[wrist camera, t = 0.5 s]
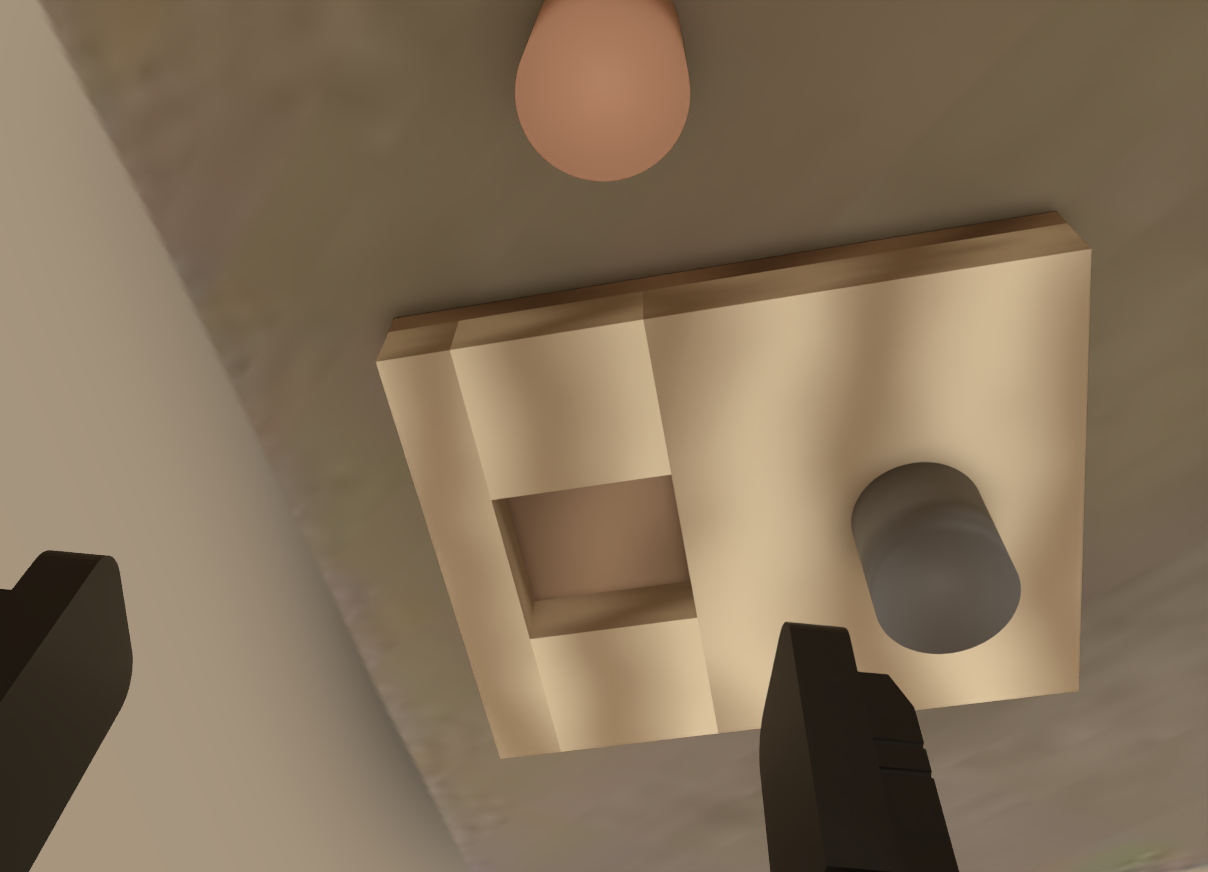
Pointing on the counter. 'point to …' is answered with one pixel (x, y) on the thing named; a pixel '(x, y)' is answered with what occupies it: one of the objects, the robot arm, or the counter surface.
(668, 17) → the terracotta pin
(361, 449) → the counter surface
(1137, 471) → the counter surface
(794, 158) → the counter surface
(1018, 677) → the pin board
